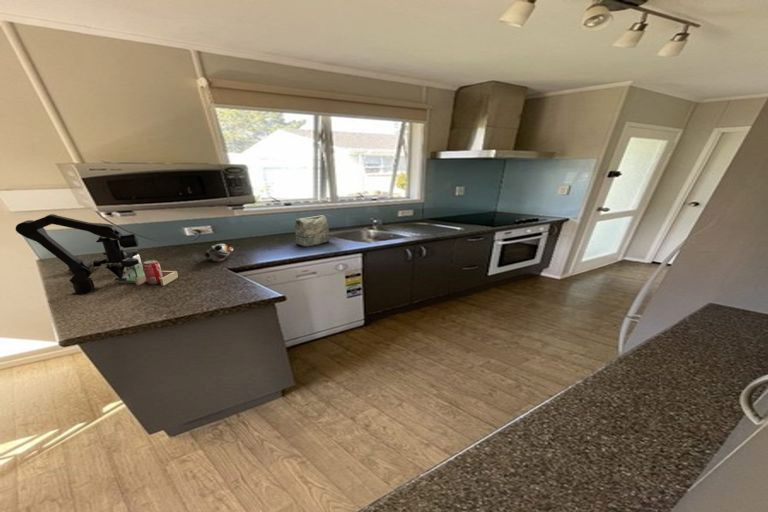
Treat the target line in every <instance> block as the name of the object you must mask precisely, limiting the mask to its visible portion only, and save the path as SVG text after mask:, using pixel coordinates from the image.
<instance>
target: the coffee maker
mask: <svg viewBox="0 0 768 512" xmlns="http://www.w3.org/2000/svg"><path fill="white" fill-rule="evenodd" d="M141 263H142V262H141ZM141 263H139V264H136V265H134V266H133V268H134V270H132V271H131V272H130V273H129V274H128V275H127V276H126V277H125V278H127V280H126V281H118V283H119V284H136V282H135V278H137V277H139V276H141V275H143V274H145V273H144V269H143V268H142V266H143V264H141ZM126 269H127V271H128V270H129V269H130V267H126Z"/></svg>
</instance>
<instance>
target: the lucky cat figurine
mask: <svg viewBox="0 0 768 512" xmlns="http://www.w3.org/2000/svg"><path fill="white" fill-rule="evenodd" d="M234 248H235V247H232V246H231V245H227V244H225V243H217V244H214V245H211V247H210V248H209V249H207V250H205V252H204V257H205V258H206V260H207V261H211V262H212V263H219V262H223V261H224V260H226V259H227V258H228V257H229V256H230V255H231V253H233V252H234Z"/></svg>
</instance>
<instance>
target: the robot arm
mask: <svg viewBox="0 0 768 512" xmlns="http://www.w3.org/2000/svg"><path fill="white" fill-rule="evenodd" d="M50 225H54V226H55V225H56V226H60V227H65V228H71V229H75V230H80V231H84V232H88V233H91V234H93V235H95V236H98V239H97V240H96V242H95V243H102V246H103V249H104V252H102V254H103V256H106V257H101V258H99V259H96V260H95V259H94V260H93V261H92V263H91V262H90V261H89V260H87V259H86V258H84V259H83V260H82V259H79V258H78V257H76V256H75V255H74V254H72V253H71V252H70V251H68V250H67V249H66V248H65V247H64V246H62V244H60V243H59V242H57V241H56V240H55V239H54V238H52V237H51V236H50V235H49V234H48V233H47V231H46V229H45V228H46V227H48V226H50ZM15 231H16V233H17V234H19V235H21V236H22V237H24V238H26V239H28V240H31V241H33V242H36V243H37V244H39V245H40V246H41V247H42V248H44V249H45V250H46V251H48V252H49V253H51V254H52V255H53V256H55V257H56V258H57V259H59V260H60V261H62V262H63V264H65V265H66V266H67V267H68V270H69V269H70V271H71V272H72V273H73V274H72V276H71V278H70V279H69V280H68V281H69V282H70V283H71V284H72V286H73V287H72V288H73V290H74V292H72V295H86V294H90V293H91V292H93V291H95V290H98V287H95V285H94V284H95V283H94V281H93V279H92V278H91V275H93V273H94V271H95V270H94V267H97V268H99V267H101V266H102V265H106V266H105V269H107V270H109V271H110V272H112V273H113V274H114V275H115V276H116V278H122V277H123V275H124V273H125V272H124V268H125V267H132V266H134V265H136V264H139V261H138V259H127V258H132V254H133V253H130V252H124V250H123V249H129V248H130V249H131V248H138V247H139V239H138V238H137V236H136V234H135V233H129V234H123V233H122V232H120V231H118V230H117V228H116V227H115V225H113V224H110V223H104V222H103V223H101V222H89V221H84V220H80V219H79V220H78V219H75V218H70V217H65V216H62V215H57V214H55V213H51V214H47V215H45V216H44V217H40V218H37V219H35V220H33V219H32V220H31V219H30V220H27V219H26V220H25V221H22V222H20V223H18V224H16V226H15ZM121 248H123V249H121ZM125 259H127V260H125ZM123 260H125V261H123ZM92 265H94V267H93V266H92ZM73 275H74V276H73Z"/></svg>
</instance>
